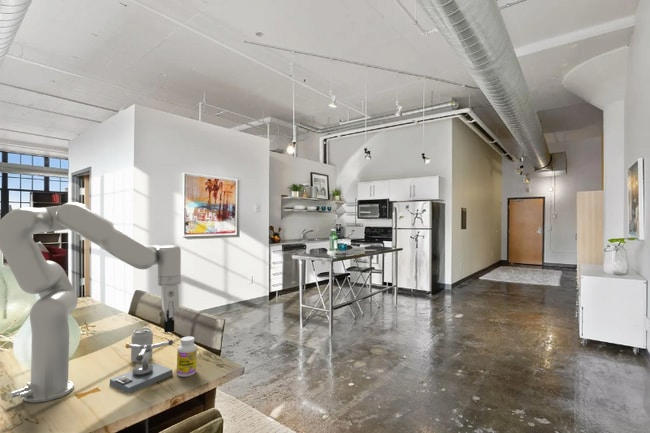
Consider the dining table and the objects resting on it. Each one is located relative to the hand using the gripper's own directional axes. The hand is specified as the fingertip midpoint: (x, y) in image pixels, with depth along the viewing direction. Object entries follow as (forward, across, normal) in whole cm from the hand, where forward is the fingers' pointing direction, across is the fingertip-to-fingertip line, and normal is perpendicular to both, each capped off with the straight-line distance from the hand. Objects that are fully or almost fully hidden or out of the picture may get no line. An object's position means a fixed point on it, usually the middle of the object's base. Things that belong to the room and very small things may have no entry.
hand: (169, 331), depth 124 cm
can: (+16, +21, +8) cm, 28 cm away
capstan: (+14, +3, +9) cm, 17 cm away
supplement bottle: (+17, 0, -6) cm, 18 cm away
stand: (+16, +2, +8) cm, 18 cm away
